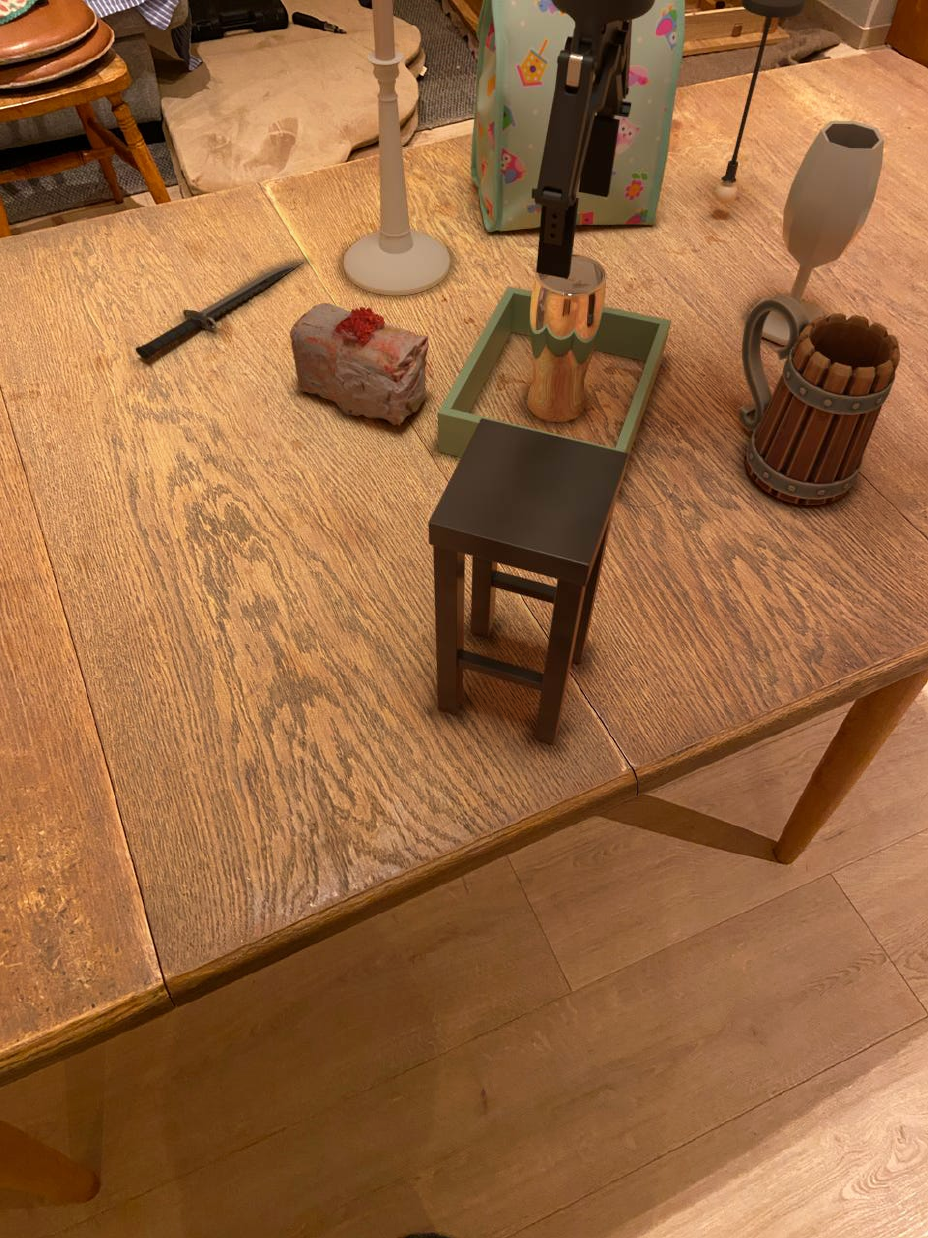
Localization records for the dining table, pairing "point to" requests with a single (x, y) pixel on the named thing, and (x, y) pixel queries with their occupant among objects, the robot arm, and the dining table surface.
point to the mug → (814, 401)
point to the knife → (212, 312)
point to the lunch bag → (522, 100)
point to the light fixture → (754, 81)
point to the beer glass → (564, 337)
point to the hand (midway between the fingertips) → (574, 231)
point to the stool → (521, 552)
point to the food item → (360, 362)
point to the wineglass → (827, 206)
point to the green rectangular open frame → (511, 314)
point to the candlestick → (393, 193)
